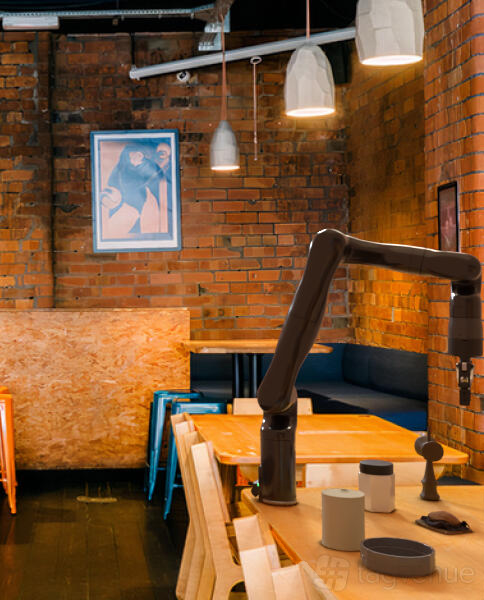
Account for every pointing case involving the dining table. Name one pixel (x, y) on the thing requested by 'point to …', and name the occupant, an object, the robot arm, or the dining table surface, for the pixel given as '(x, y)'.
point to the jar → (377, 485)
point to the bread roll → (444, 523)
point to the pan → (397, 556)
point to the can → (343, 518)
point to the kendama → (429, 464)
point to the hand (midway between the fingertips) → (465, 403)
